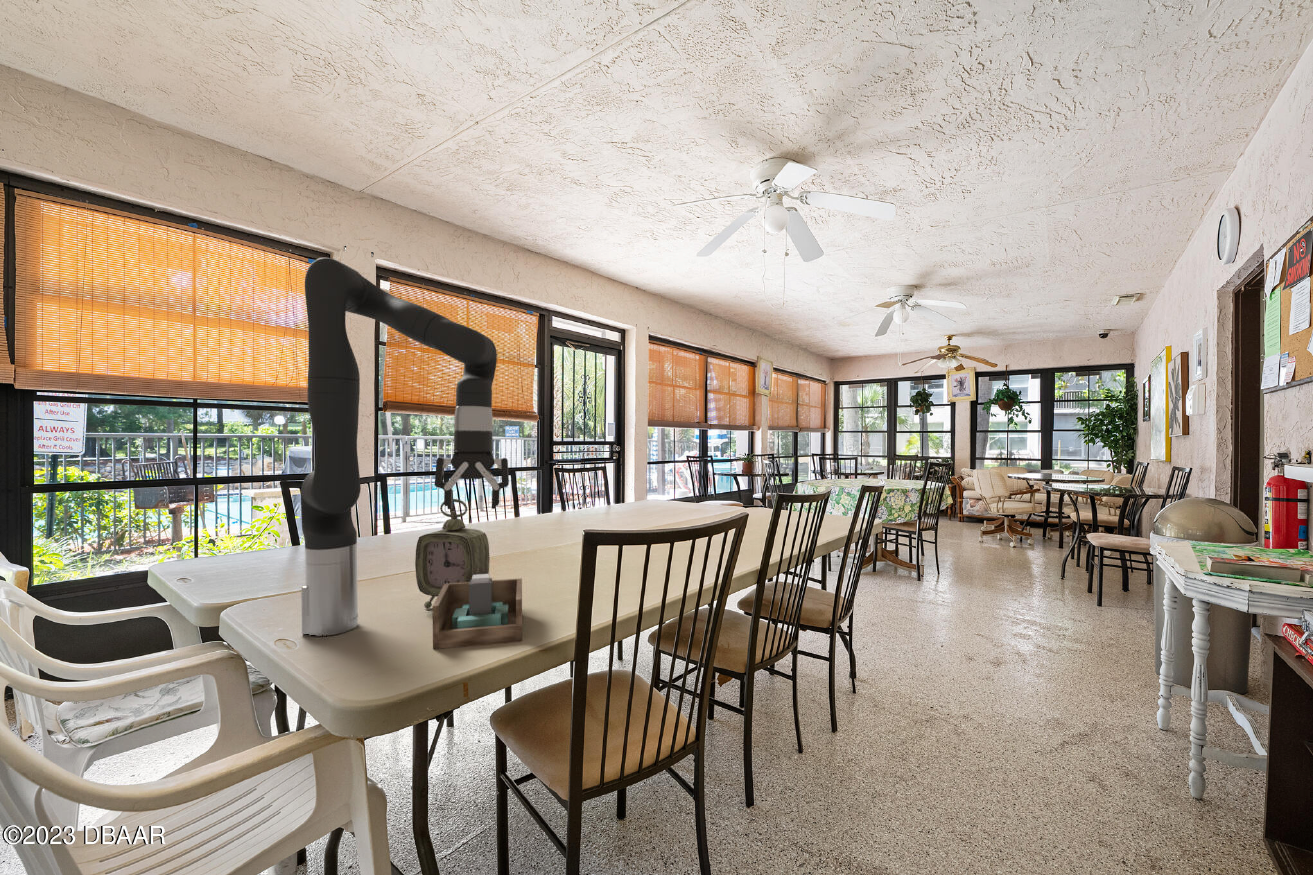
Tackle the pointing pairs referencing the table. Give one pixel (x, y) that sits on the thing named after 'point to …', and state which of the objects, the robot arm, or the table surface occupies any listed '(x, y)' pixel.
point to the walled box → (477, 616)
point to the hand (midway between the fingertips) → (472, 508)
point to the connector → (480, 595)
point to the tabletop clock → (450, 555)
